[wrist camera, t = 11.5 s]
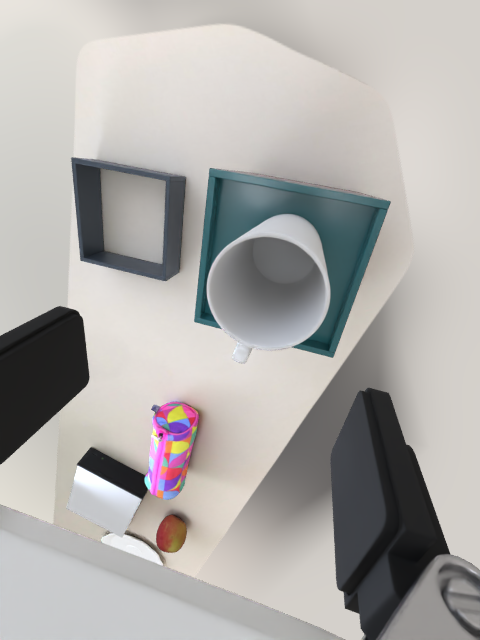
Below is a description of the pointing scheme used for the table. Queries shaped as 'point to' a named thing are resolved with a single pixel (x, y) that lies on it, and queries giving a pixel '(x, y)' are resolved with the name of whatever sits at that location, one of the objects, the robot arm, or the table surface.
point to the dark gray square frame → (92, 225)
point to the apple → (171, 534)
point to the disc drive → (106, 492)
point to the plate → (132, 546)
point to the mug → (270, 286)
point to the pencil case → (170, 448)
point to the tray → (316, 207)
